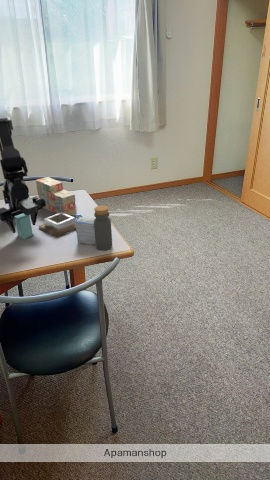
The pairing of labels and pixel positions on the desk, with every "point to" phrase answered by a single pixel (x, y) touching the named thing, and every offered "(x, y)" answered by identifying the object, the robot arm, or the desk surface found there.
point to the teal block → (23, 225)
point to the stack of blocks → (56, 196)
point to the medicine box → (85, 230)
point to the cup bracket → (66, 222)
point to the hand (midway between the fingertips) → (24, 228)
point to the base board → (57, 231)
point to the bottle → (102, 228)
